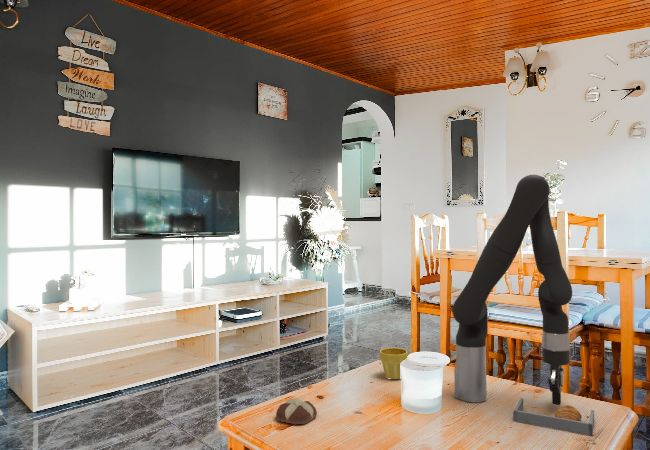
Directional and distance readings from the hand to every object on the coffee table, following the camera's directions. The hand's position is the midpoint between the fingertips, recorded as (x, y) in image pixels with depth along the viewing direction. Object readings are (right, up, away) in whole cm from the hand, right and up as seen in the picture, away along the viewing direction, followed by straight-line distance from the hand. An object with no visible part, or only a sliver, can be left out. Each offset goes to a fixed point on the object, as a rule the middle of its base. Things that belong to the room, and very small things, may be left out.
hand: (556, 404), depth 146 cm
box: (-5, -2, -8) cm, 10 cm away
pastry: (-1, -2, -9) cm, 10 cm away
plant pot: (-44, -2, +32) cm, 55 cm away
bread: (-78, -3, -4) cm, 79 cm away
